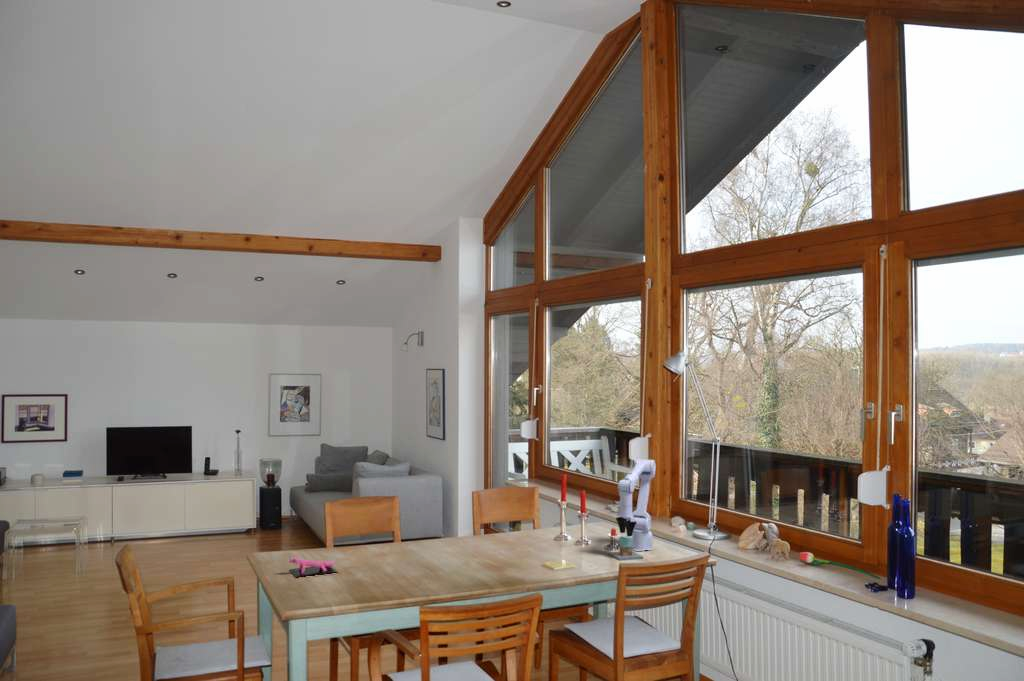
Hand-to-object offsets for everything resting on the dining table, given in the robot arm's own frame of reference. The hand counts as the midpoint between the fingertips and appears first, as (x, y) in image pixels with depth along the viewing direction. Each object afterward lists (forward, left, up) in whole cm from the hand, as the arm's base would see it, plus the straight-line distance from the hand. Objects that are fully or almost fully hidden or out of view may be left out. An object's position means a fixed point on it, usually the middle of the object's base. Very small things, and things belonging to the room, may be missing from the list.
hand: (626, 534), depth 389 cm
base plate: (0, 0, -10) cm, 10 cm away
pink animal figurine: (+143, -11, -11) cm, 144 cm away
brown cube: (0, 0, -9) cm, 9 cm away
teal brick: (0, 0, -5) cm, 5 cm away
